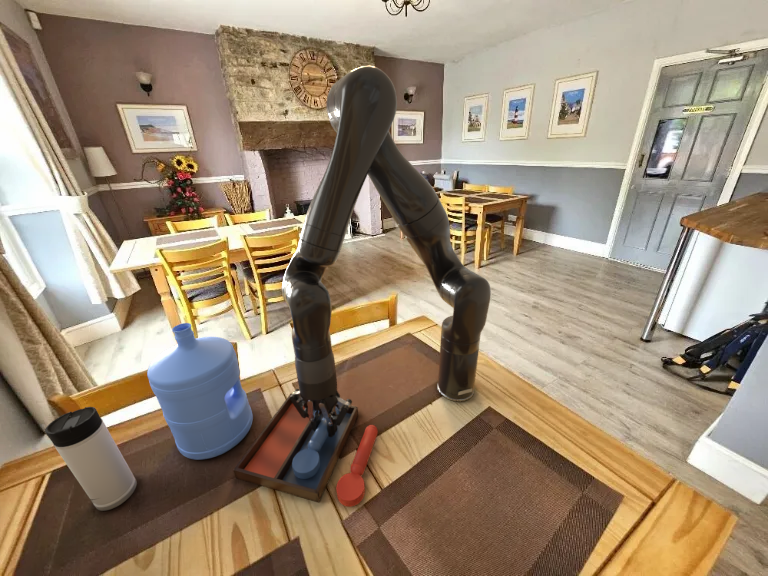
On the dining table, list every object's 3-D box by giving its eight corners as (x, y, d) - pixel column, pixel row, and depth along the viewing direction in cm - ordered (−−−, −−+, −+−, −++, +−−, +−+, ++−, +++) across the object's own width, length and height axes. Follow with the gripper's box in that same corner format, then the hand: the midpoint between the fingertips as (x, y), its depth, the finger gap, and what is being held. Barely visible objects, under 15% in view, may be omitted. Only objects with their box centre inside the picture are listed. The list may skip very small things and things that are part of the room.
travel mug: (90, 520, 55) (34, 440, 46) (101, 487, 60) (52, 410, 52) (133, 502, 57) (87, 424, 49) (139, 472, 63) (99, 397, 54)
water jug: (187, 477, 62) (136, 363, 50) (172, 429, 72) (128, 326, 61) (264, 432, 71) (236, 328, 59) (240, 395, 82) (213, 301, 70)
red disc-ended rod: (362, 428, 71) (362, 419, 70) (384, 433, 70) (384, 424, 69) (332, 502, 56) (331, 492, 55) (359, 510, 55) (358, 500, 54)
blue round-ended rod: (326, 410, 74) (324, 401, 73) (346, 414, 73) (345, 405, 72) (288, 475, 59) (285, 465, 58) (312, 482, 58) (310, 472, 57)
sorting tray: (292, 401, 79) (290, 393, 78) (358, 414, 75) (357, 406, 74) (236, 478, 61) (233, 469, 60) (318, 502, 56) (317, 493, 55)
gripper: (356, 363, 63) (360, 425, 70) (294, 353, 66) (305, 413, 73) (341, 388, 56) (348, 454, 63) (274, 376, 60) (287, 439, 67)
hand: (325, 431), depth 68 cm, fingers closed on blue round-ended rod, 2 cm apart
